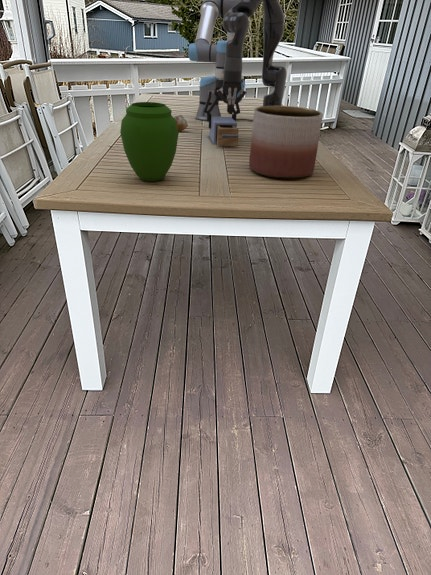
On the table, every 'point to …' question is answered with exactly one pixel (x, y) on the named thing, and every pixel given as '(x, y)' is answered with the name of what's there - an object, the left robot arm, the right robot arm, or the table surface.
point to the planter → (284, 141)
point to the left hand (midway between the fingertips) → (221, 128)
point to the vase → (149, 139)
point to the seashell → (181, 122)
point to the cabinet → (219, 121)
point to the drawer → (227, 135)
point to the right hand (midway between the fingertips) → (230, 113)
